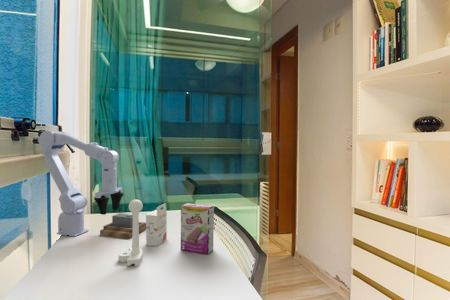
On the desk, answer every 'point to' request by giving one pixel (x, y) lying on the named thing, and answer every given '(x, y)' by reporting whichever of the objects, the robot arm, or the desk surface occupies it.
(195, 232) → the candy bar box
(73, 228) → the robot arm
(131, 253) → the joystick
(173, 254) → the desk surface
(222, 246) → the desk surface
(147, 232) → the ink cartridge box
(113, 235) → the stand
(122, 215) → the housing
